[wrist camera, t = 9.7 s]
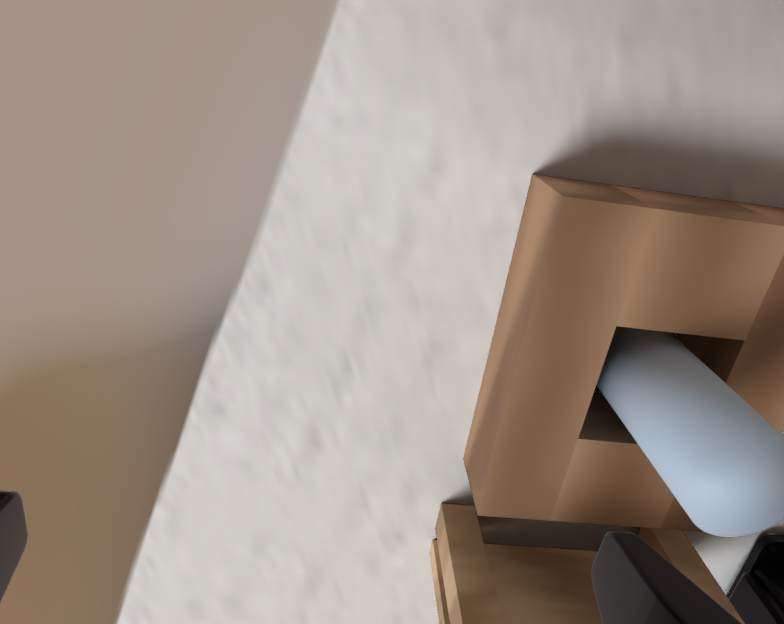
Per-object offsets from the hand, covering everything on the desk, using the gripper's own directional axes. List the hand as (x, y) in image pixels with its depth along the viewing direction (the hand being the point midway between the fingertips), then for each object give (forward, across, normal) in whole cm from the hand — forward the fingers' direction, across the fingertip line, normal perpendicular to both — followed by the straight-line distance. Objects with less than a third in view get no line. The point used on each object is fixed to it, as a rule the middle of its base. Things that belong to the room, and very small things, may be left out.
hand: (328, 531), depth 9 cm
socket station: (+12, -11, +5) cm, 17 cm away
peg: (+12, -11, +2) cm, 17 cm away
